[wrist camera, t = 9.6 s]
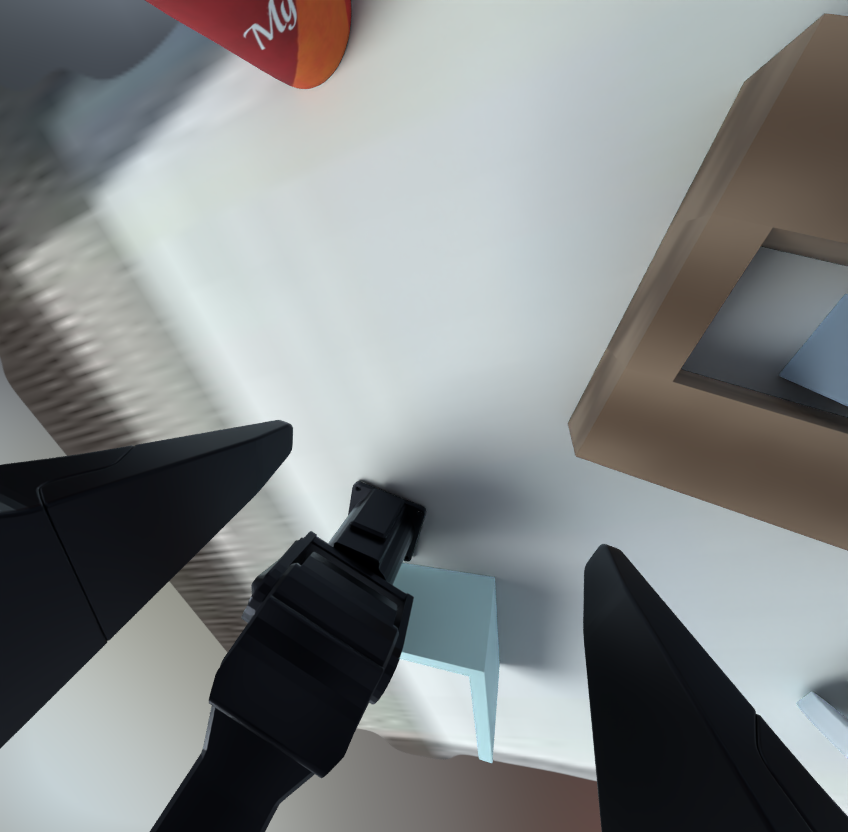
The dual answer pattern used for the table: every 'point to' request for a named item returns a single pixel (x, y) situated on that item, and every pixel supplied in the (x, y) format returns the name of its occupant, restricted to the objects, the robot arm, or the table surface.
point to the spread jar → (826, 720)
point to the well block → (707, 291)
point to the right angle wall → (456, 635)
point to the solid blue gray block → (824, 357)
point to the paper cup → (273, 33)
